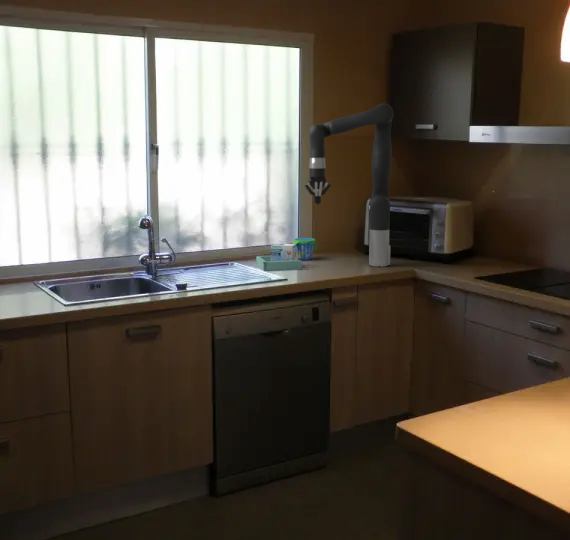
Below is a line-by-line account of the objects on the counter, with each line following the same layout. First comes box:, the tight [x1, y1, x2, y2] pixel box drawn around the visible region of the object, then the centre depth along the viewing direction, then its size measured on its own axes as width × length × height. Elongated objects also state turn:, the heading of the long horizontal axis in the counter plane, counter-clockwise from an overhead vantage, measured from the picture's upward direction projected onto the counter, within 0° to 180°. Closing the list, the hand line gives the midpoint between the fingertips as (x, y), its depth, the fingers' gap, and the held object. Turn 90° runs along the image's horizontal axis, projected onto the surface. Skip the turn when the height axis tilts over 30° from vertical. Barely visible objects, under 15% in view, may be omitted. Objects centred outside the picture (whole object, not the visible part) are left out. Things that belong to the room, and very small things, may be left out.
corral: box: [255, 255, 303, 272], centre depth 356 cm, size 18×18×4 cm
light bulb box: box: [270, 242, 296, 261], centre depth 356 cm, size 11×7×11 cm, turn 78°
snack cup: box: [292, 237, 318, 261], centre depth 377 cm, size 16×10×10 cm
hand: (317, 204), depth 359 cm, fingers closed
